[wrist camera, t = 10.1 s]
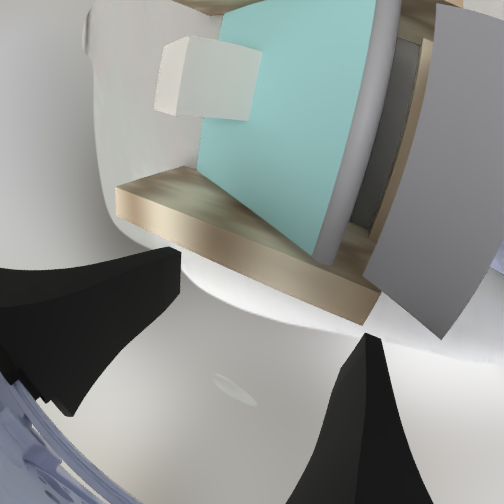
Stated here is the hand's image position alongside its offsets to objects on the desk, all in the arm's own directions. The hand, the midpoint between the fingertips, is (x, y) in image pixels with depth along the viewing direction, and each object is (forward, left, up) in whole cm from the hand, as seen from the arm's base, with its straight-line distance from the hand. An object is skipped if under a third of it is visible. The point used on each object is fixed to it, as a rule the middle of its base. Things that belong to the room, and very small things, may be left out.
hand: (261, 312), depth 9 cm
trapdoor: (0, -7, -8) cm, 10 cm away
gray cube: (+6, -8, -7) cm, 12 cm away
